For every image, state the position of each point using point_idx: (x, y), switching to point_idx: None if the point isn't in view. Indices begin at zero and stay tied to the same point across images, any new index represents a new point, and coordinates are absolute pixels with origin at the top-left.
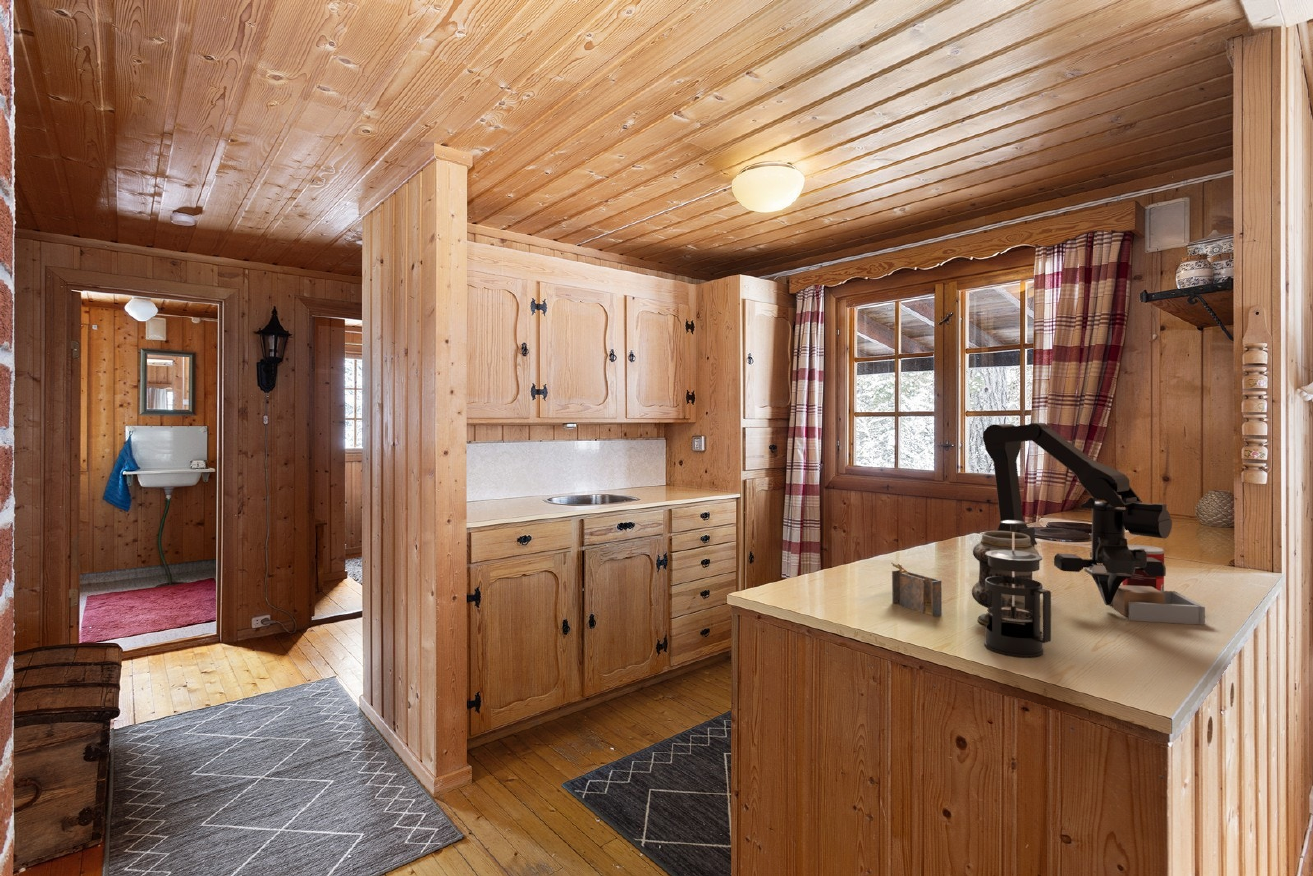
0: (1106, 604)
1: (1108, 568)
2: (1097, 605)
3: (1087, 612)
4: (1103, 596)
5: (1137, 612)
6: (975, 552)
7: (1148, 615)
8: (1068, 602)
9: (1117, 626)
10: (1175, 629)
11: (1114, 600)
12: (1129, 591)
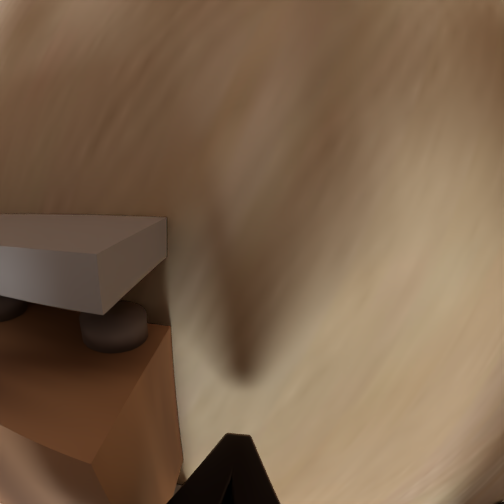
0: (250, 437)
1: None
2: None
3: (383, 373)
4: (266, 489)
5: (92, 227)
6: None
7: (41, 222)
8: (363, 496)
9: (336, 42)
10: (11, 85)
11: (170, 485)
12: (50, 464)
